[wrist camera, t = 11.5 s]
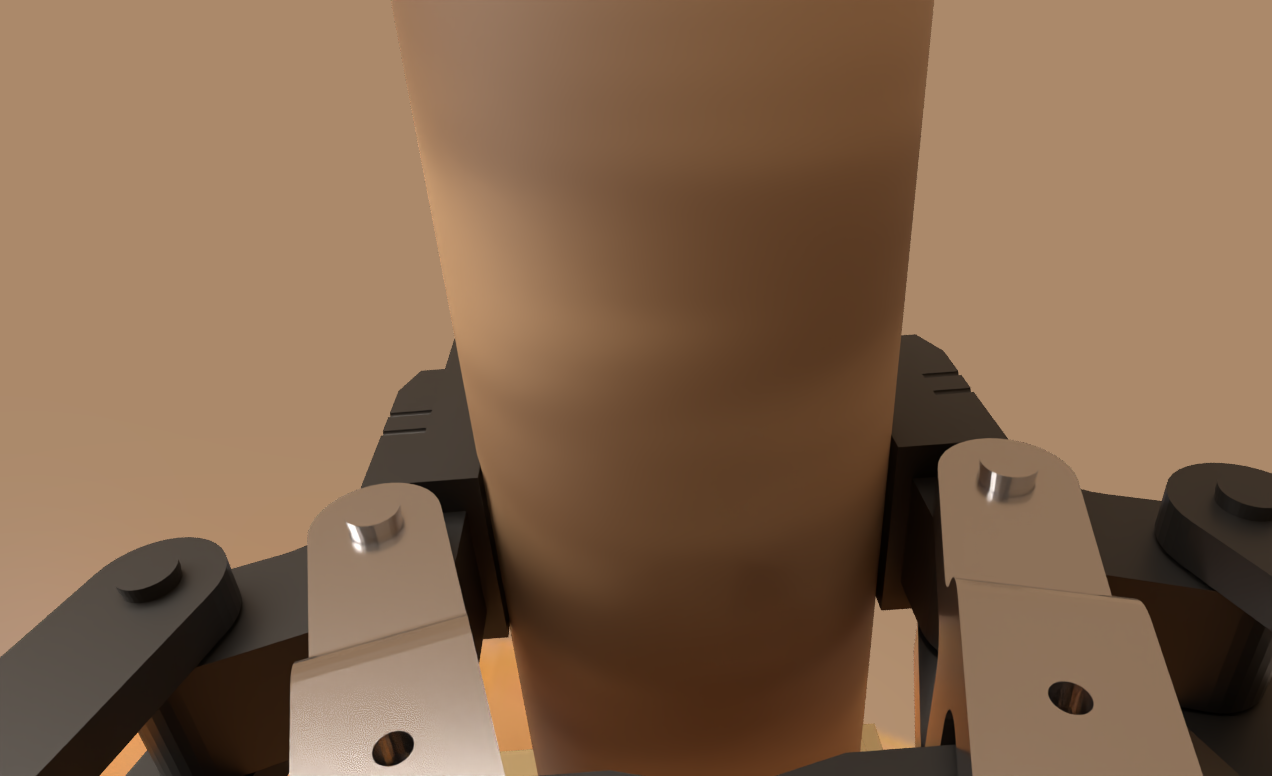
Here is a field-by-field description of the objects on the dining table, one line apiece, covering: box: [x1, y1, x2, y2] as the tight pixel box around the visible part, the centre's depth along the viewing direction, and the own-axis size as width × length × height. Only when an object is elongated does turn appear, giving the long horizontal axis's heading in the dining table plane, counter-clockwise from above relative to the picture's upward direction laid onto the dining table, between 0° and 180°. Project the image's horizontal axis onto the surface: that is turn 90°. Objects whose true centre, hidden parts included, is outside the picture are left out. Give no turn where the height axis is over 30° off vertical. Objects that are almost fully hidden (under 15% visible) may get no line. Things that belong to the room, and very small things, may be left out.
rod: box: [391, 0, 934, 776], centre depth 11 cm, size 4×4×22 cm
